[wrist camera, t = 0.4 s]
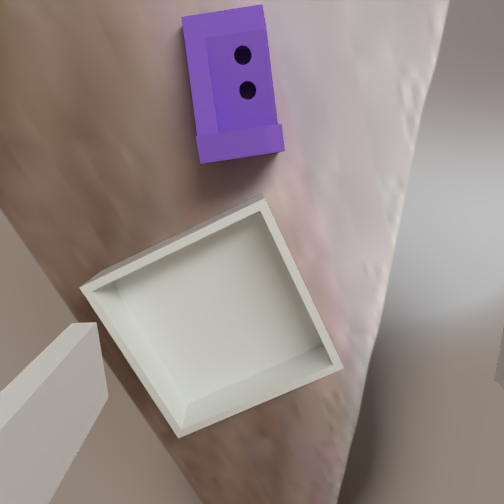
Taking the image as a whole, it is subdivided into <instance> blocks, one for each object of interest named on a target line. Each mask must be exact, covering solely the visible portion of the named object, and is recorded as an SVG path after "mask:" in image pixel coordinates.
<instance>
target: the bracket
mask: <svg viewBox="0 0 504 504" xmlns="http://www.w3.org/2000/svg"><path fill="white" fill-rule="evenodd" d="M182 24H183V32H184V39H185V47H186V54H187V62H188V70H189V77H190V85H191V93H192V100H193V108H194V115H195V123H196V131H197V136H195V137H196V142H197V148H198V153H199V159H200V164H203V163H211V162H218V161H224V160H231V159H237V158H244V157H250V156H257V155H264V154H270V153H277V152H282V151H285V149H284V141H283V132H282V125H281V124H278V122H277V114H276V106H275V97H274V89H273V81H272V72H271V64H270V55H269V47H268V39H267V30H266V24H265V18H264V12H263V6H262V5H256V6H249V7H243V8H237V9H230V10H224V11H218V12H211V13H205V14H199V15H193V16H186V17H182ZM240 49H245V50H248V51H249V52H250V53H251V54H252V57H251V60H250V62H249V63H248V64H246V65H240V64H238V63H237V62H236V60H235V58H234V53H235V52H236V51H238V50H240ZM246 82H249V83H252V84H254V85H255V86H256V94H255V96H254V97H253V98H252V99H249V100H247V99H244V98H242V97H241V95H240V93H239V87H240V85H241V84H243V83H246Z"/></svg>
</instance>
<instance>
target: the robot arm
mask: <svg viewBox="0 0 504 504" xmlns="http://www.w3.org/2000/svg"><path fill="white" fill-rule="evenodd" d="M495 382H497V383H498V384H499V385H500V386H501V387H502V388H503V389H504V330H503V335H502V341H501V346H500V352H499V357H498V363H497V368H496V374H495ZM107 399H108V390H107V384H106V378H105V372H104V366H103V359H102V353H101V347H100V341H99V335H98V329H97V323H96V322H90V323H72V324H71V325H70V326H68V327H67V328H66V329H65V330H64V331H63V332H62V333H61V334H60V335H59V336H58V337H57V338H56V339H55V340H54V341H53V342H52V343H51V344H50V345H49V346H48V347H47V348H46V349H45V350H44V351H43V352H42V353H41V354H40V355H38V356H37V357H36V358H35V359H34V360H33V361H32V362H31V363H30V364H29V365H28V366H27V367H26V368H25V369H24V370H23V371H22V372H21V373H20V374H19V375H18V376H17V377H16V378H15V379H14V380H13V381H12V382H11V383H10V384H8V385H7V387H5V388H4V389H3V390H2V391H1V392H0V504H49V503H50V501H51V499H52V497H53V495H54V494H55V492H56V490H57V488H58V486H59V485H60V483H61V481H62V479H63V477H64V476H65V474H66V472H67V470H68V469H69V467H70V465H71V463H72V461H73V460H74V458H75V456H76V454H77V453H78V450H79V449H80V447H81V445H82V444H83V442H84V440H85V438H86V437H87V435H88V433H89V431H90V429H91V428H92V426H93V424H94V422H95V421H96V419H97V417H98V415H99V413H100V412H101V410H102V408H103V406H104V404H105V402H106V401H107Z"/></svg>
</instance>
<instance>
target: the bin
mask: <svg viewBox="0 0 504 504" xmlns="http://www.w3.org/2000/svg"><path fill="white" fill-rule="evenodd" d="M79 288H80V289H81V291H82V292H83V294H84V295H85V297H86V298H87V300H88V301H89V303H90V305H91V306H92V308H93V309H94V311H95V312H96V314H97V315H98V317H99V318H100V320H101V321H102V323H103V324H104V326H105V327H106V329H107V330H108V332H109V333H110V335H111V337H112V338H113V340H114V341H115V343H116V344H117V346H118V347H119V349H120V350H121V352H122V353H123V355H124V356H125V358H126V359H127V361H128V362H129V364H130V365H131V367H132V369H133V370H134V372H135V373H136V375H137V376H138V378H139V379H140V381H141V382H142V384H143V385H144V387H145V388H146V390H147V391H148V393H149V394H150V396H151V397H152V399H153V401H154V402H155V404H156V405H157V407H158V408H159V410H160V411H161V413H162V414H163V416H164V417H165V419H166V420H167V422H168V423H169V425H170V426H171V428H172V429H173V431H174V433H175V434H176V436H177V437H178V438H181V437H183V436H185V435H188V434H190V433H192V432H195V431H197V430H199V429H202V428H204V427H207V426H209V425H211V424H214V423H216V422H218V421H221V420H223V419H225V418H228V417H230V416H232V415H235V414H237V413H240V412H242V411H244V410H247V409H249V408H251V407H254V406H256V405H258V404H261V403H263V402H265V401H268V400H270V399H273V398H275V397H277V396H280V395H282V394H284V393H287V392H289V391H291V390H294V389H296V388H298V387H301V386H303V385H305V384H308V383H310V382H313V381H315V380H317V379H320V378H322V377H324V376H327V375H329V374H331V373H334V372H336V371H338V370H341V369H343V368H344V367H343V365H342V363H341V361H340V359H339V357H338V354H337V352H336V350H335V348H334V346H333V344H332V342H331V339H330V337H329V335H328V333H327V331H326V329H325V327H324V324H323V322H322V320H321V318H320V316H319V314H318V312H317V309H316V307H315V305H314V303H313V301H312V299H311V297H310V294H309V292H308V290H307V288H306V286H305V284H304V282H303V279H302V277H301V275H300V273H299V271H298V269H297V267H296V264H295V262H294V260H293V258H292V256H291V254H290V252H289V249H288V247H287V245H286V243H285V241H284V239H283V237H282V234H281V232H280V230H279V228H278V226H277V224H276V222H275V219H274V217H273V215H272V213H271V211H270V209H269V207H268V204H267V202H266V200H265V198H264V196H263V194H262V193H261V194H259V195H257V196H255V197H253V198H251V199H249V200H247V201H245V202H243V203H241V204H238V205H236V206H234V207H232V208H230V209H228V210H226V211H224V212H222V213H220V214H218V215H216V216H214V217H212V218H210V219H208V220H205V221H203V222H201V223H199V224H197V225H195V226H193V227H191V228H189V229H187V230H185V231H183V232H181V233H179V234H177V235H175V236H172V237H170V238H168V239H166V240H164V241H162V242H160V243H158V244H156V245H154V246H152V247H150V248H148V249H146V250H144V251H142V252H139V253H137V254H135V255H133V256H131V257H129V258H127V259H125V260H123V261H121V262H119V263H117V264H115V265H113V266H111V267H109V268H106V269H104V270H102V271H100V272H99V273H98V274H96V275H95V276H94V277H92V278H91V279H90V280H89V281H87V282H86V283H85V284H83V285H82V286H81V287H79Z"/></svg>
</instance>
